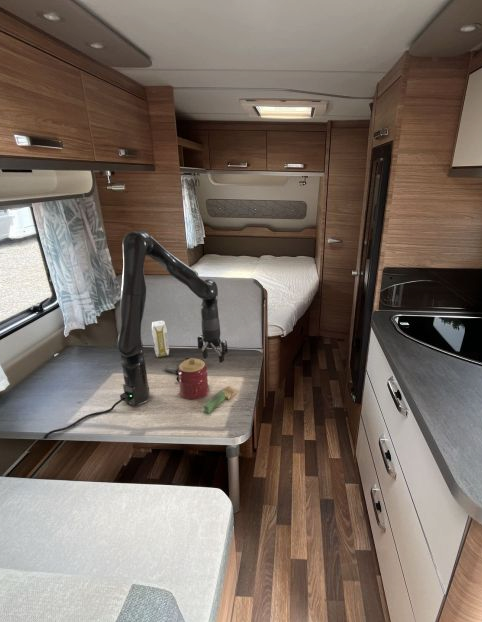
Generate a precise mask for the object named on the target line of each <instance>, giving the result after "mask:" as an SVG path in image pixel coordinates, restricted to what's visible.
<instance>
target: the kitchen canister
mask: <svg viewBox="0 0 482 622" xmlns="http://www.w3.org/2000/svg"><path fill="white" fill-rule="evenodd" d="M189 358H190V359H188V360H185V359H184V361H182V362H181V363H180V364H179V366H178V368H179V369H178V368H177V369H178V374H179V375H178V376H179V378H178V379H179V383H178V384H179V393H180V396H181V397H182V398H184V399H187V400H195V399H201V398H203V397H204V396H206V395H207V394H208V392H209V388H210V387H209V380H208V372H207V370H208V366H207V365H206V364H205V360H204V361H202V360H203V359H202V360H201V359H199V358H193V357H189Z"/></svg>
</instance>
